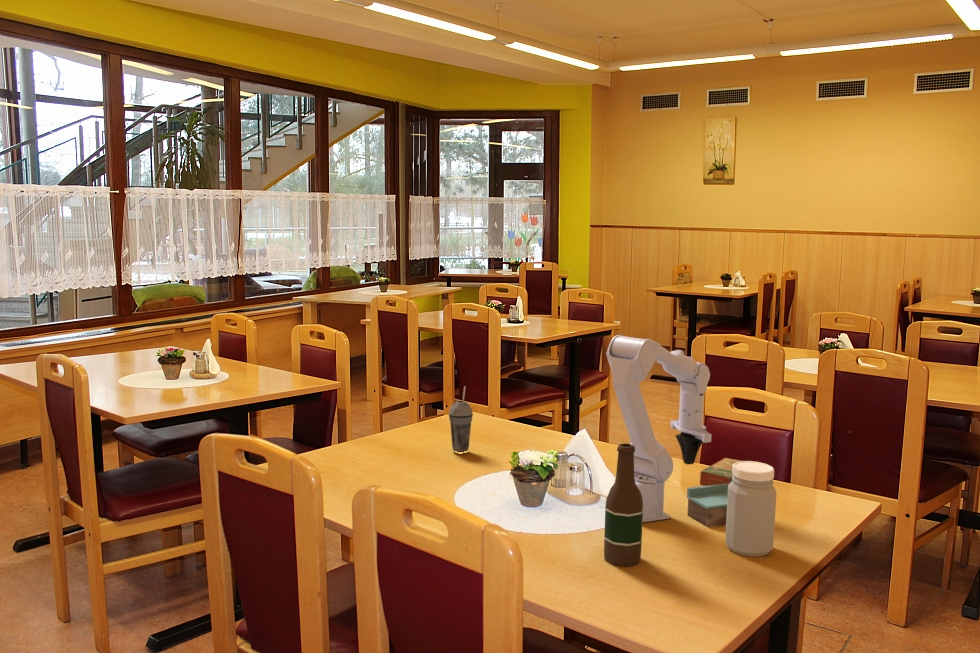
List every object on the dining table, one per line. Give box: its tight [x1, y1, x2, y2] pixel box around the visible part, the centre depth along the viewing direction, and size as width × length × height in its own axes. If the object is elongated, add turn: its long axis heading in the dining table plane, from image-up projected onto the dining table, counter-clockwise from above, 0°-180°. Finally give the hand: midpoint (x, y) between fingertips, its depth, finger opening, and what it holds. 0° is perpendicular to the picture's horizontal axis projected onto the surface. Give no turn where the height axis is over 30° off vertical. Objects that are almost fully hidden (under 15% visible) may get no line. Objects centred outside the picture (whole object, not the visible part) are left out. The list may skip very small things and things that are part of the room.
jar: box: [725, 460, 777, 558], centre depth 165 cm, size 10×10×18 cm
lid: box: [686, 483, 729, 509], centre depth 184 cm, size 11×8×2 cm
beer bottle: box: [603, 443, 643, 568], centre depth 159 cm, size 8×8×24 cm
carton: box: [699, 457, 741, 486], centre depth 212 cm, size 8×16×4 cm, turn 140°
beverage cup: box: [448, 385, 474, 452], centre depth 234 cm, size 7×7×20 cm
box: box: [687, 498, 727, 528], centre depth 184 cm, size 11×8×4 cm
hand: (688, 463), depth 195 cm, fingers closed
